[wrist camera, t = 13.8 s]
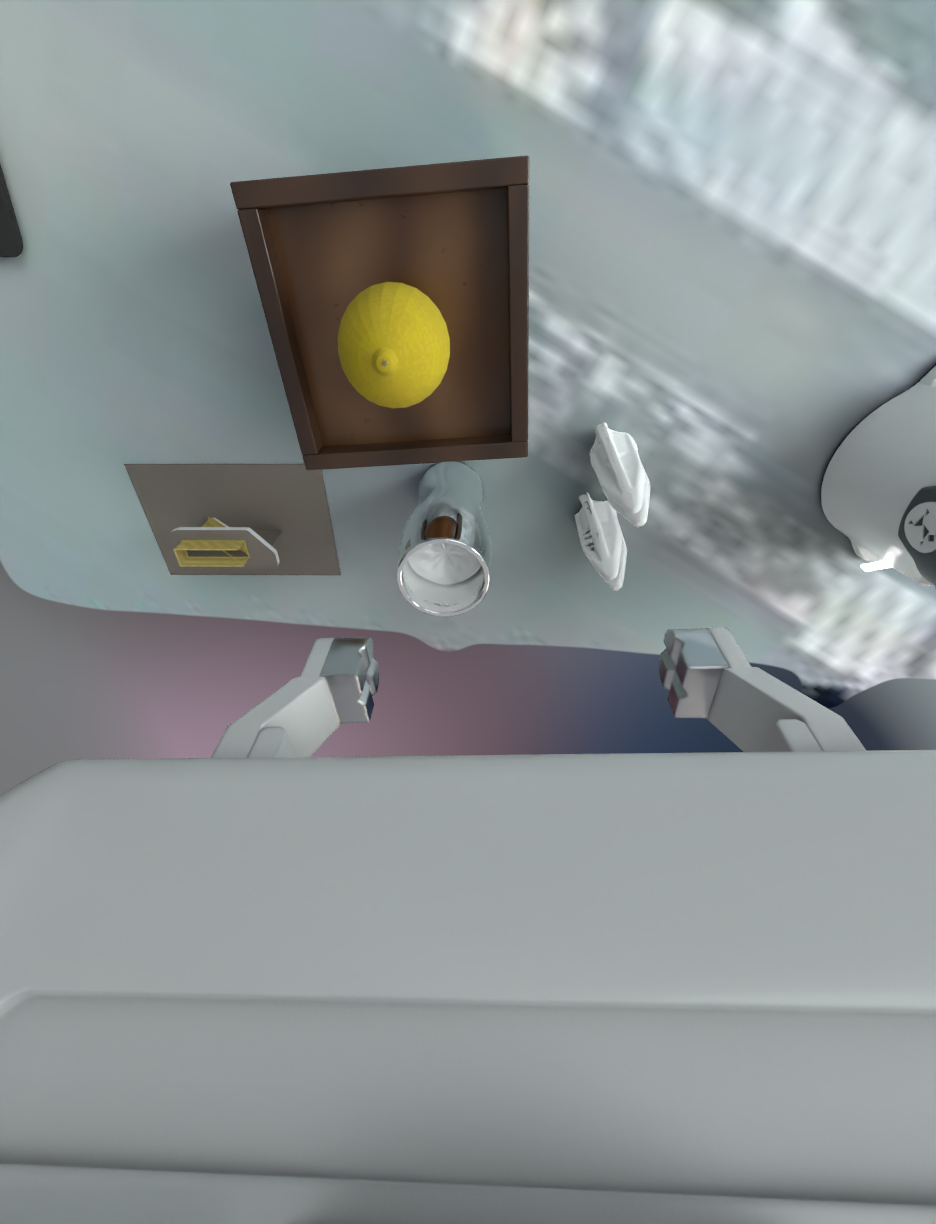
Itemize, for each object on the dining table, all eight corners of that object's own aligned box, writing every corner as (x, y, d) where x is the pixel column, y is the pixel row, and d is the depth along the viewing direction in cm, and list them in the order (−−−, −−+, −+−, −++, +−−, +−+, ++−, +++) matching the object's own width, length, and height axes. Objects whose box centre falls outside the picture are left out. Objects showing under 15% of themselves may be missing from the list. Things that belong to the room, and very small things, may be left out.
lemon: (465, 368, 30) (463, 406, 23) (378, 398, 31) (353, 442, 24) (432, 259, 27) (419, 268, 20) (337, 297, 28) (296, 317, 21)
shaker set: (591, 415, 43) (621, 462, 34) (640, 417, 43) (682, 465, 35) (569, 539, 51) (588, 605, 42) (611, 541, 51) (639, 607, 42)
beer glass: (399, 497, 48) (374, 586, 36) (443, 439, 45) (431, 516, 33) (458, 538, 51) (452, 634, 39) (503, 486, 47) (513, 573, 35)
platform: (124, 464, 46) (79, 494, 41) (320, 464, 46) (300, 494, 41) (170, 574, 54) (137, 612, 48) (340, 575, 53) (326, 612, 48)
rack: (511, 179, 34) (529, 155, 23) (514, 398, 43) (528, 457, 31) (307, 197, 35) (229, 182, 24) (349, 409, 43) (305, 470, 32)
